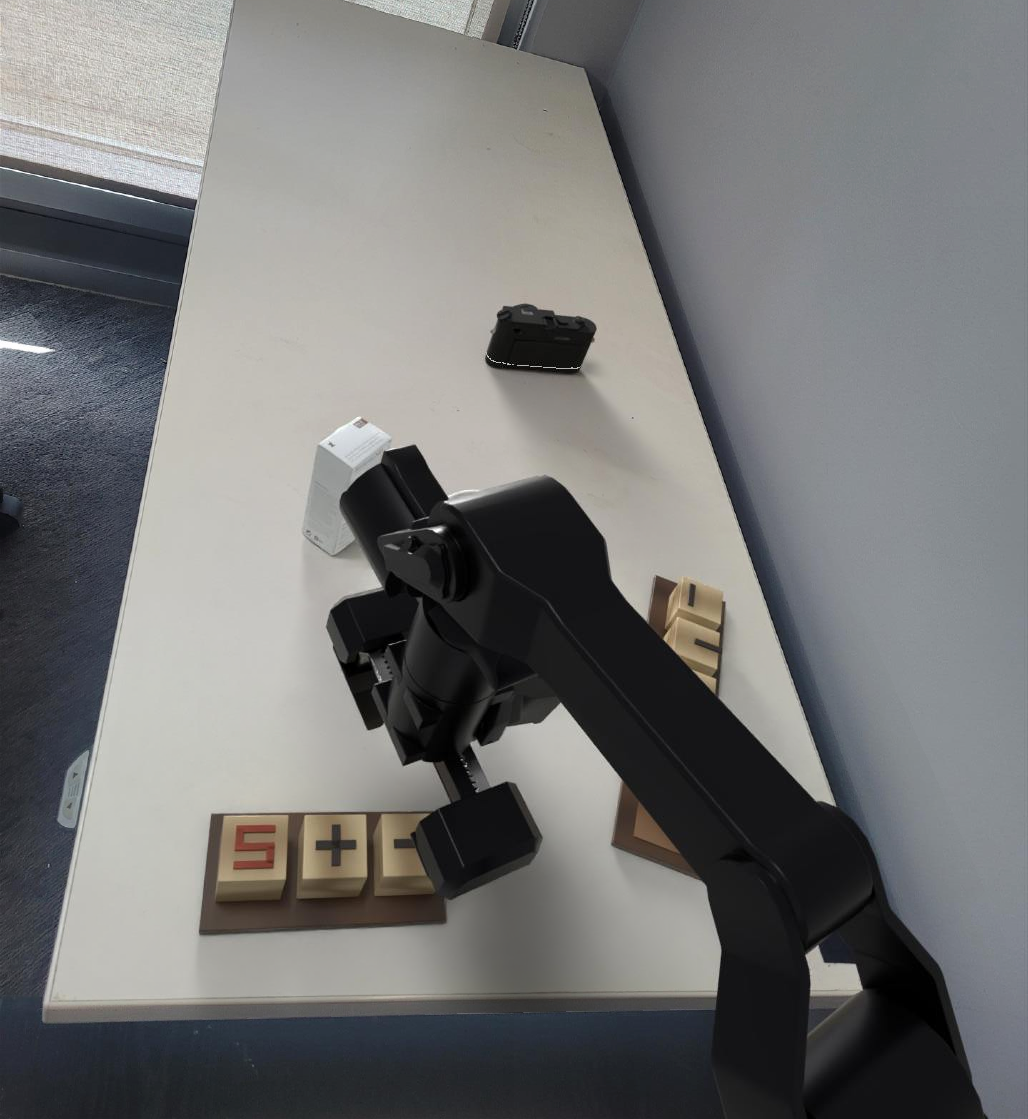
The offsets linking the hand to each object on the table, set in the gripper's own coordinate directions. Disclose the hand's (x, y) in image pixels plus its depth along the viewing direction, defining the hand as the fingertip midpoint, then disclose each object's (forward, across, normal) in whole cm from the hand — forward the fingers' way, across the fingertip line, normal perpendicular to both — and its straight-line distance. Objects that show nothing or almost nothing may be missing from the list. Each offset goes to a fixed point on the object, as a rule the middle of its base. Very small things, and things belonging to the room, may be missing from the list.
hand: (399, 787), depth 60 cm
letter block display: (+12, +2, -32) cm, 34 cm away
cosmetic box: (+12, +31, -9) cm, 34 cm away
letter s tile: (+12, +2, +8) cm, 14 cm away
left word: (+12, +1, +3) cm, 12 cm away
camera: (+12, +52, -43) cm, 69 cm away
